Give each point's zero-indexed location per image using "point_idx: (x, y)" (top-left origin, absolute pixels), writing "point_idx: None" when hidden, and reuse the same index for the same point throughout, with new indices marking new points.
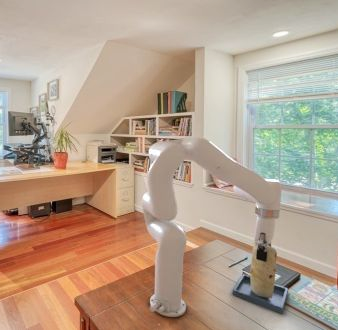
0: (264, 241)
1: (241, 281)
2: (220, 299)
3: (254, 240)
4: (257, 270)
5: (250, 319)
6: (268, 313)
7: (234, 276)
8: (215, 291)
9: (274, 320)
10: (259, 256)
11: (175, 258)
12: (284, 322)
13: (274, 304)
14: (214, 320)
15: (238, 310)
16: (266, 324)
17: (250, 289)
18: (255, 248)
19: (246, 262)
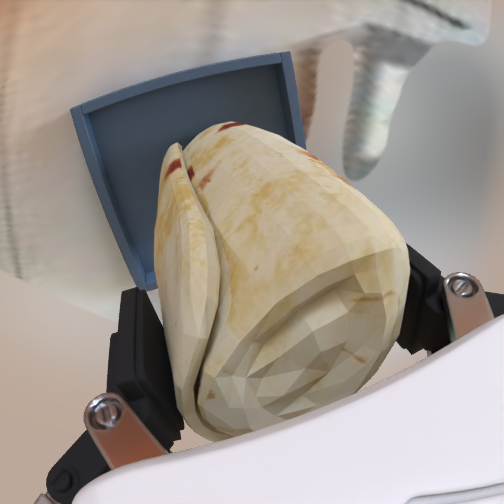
0: (438, 319)
1: (207, 76)
2: (3, 108)
3: (74, 501)
4: (155, 230)
5: (9, 243)
6: (97, 255)
7: (265, 18)
8: (36, 52)
9: (81, 283)
10: (113, 353)
11: None
12: (104, 301)
13: (134, 269)
14: None
15: (8, 192)
16: (39, 280)
17: (191, 130)
18: (186, 314)
19: (433, 29)
